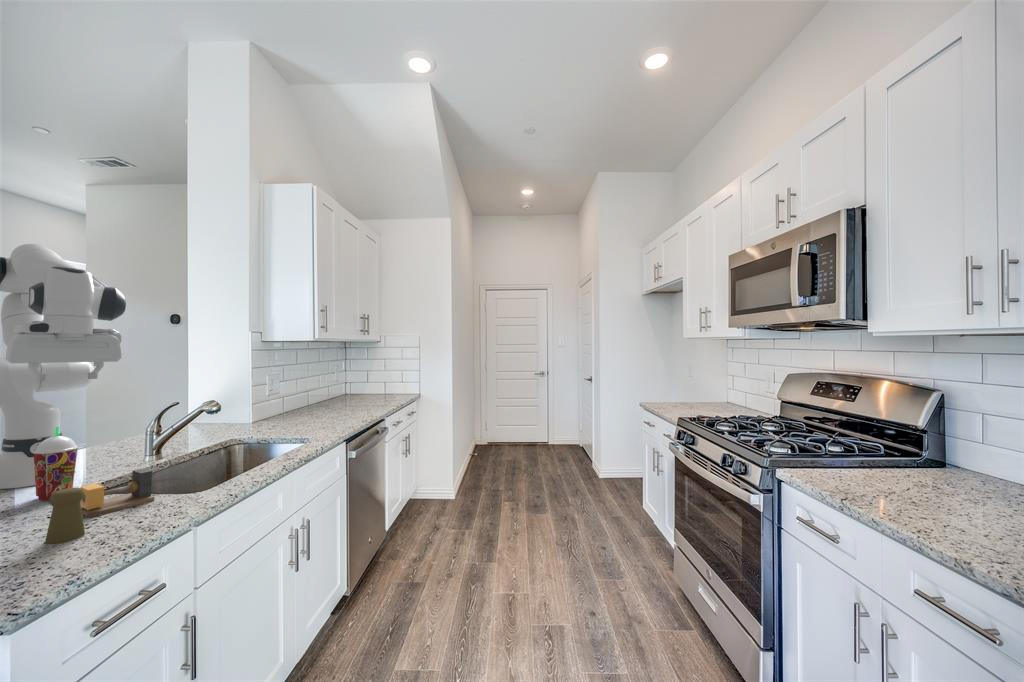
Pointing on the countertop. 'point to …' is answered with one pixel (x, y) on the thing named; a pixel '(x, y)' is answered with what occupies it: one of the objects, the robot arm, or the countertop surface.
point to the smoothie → (54, 465)
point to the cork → (65, 516)
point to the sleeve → (93, 496)
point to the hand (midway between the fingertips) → (67, 379)
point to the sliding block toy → (138, 496)
